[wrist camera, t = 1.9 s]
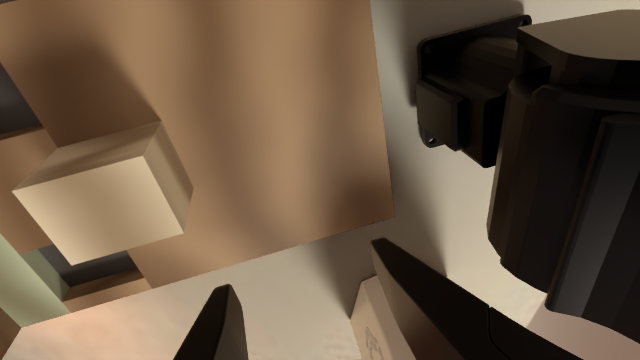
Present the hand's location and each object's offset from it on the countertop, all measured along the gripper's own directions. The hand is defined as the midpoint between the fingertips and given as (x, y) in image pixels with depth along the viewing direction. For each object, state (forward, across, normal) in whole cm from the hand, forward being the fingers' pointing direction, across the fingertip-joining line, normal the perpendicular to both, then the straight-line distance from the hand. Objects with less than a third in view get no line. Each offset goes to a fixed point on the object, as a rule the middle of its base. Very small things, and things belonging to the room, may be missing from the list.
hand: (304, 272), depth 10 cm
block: (+10, +8, 0) cm, 13 cm away
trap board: (+12, +6, 0) cm, 14 cm away
